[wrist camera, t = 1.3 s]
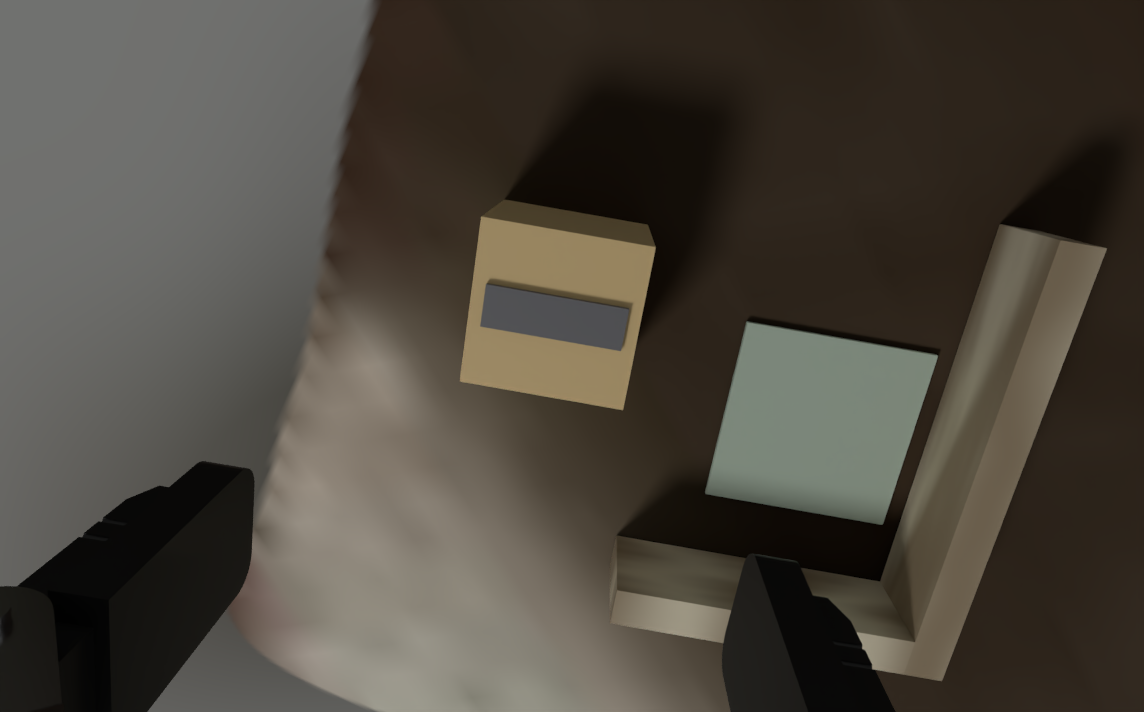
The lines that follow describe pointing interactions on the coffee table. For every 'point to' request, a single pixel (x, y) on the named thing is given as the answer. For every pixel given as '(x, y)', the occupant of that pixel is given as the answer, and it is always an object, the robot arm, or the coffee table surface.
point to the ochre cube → (556, 303)
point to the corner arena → (916, 478)
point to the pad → (818, 422)
